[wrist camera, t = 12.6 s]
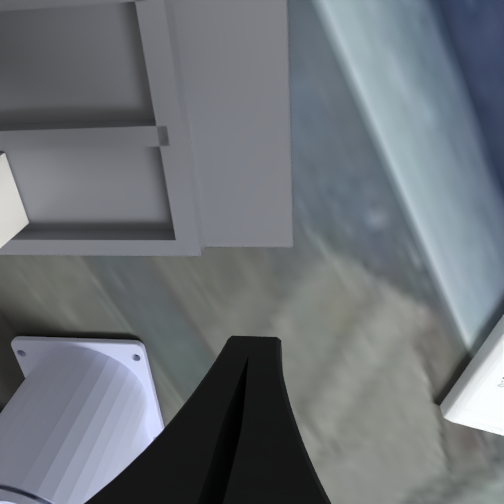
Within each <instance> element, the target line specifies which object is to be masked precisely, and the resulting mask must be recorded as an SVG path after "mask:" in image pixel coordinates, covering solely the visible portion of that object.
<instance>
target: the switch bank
mask: <svg viewBox="0 0 504 504" xmlns="http://www.w3.org/2000/svg"><path fill="white" fill-rule="evenodd" d="M0 153H5V155H6V158H7V161H8V164H9V167H10V169H11V172H12V175H13V178H14V181H15V184H16V187H17V190H18V193H19V195H20V198H21V201H22V204H23V207H24V210H25V213H26V216H27V219H28V221H29V224H27V225H26V226H25V227H24V228H23V229H22V230H21V231H19V232H18V233H17V234H16V235H15V236H14V237H13V238H11V239H10V240H9V241H8V242H7V243H6V244H5V245H3V246H2V247H1V248H0V255H110V256H201V254H202V252H203V249H204V247H293V240H294V222H293V181H292V141H291V100H290V59H289V19H288V0H0Z"/></svg>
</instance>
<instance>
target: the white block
mask: <svg viewBox="0 0 504 504" xmlns="http://www.w3.org/2000/svg"><path fill="white" fill-rule="evenodd" d="M27 224H29V221H28V219H27V216H26V213H25V210H24V207H23V204H22V201H21V198H20V195H19V193H18V190H17V187H16V184H15V181H14V178H13V175H12V172H11V169H10V167H9V164H8V161H7V158H6V155H5V153H0V248H1V247H2V246H3V245H5V244H6V243H7V242H8V241H9V240H10V239H11V238H13V237H14V236H15V235H16V234H17V233H18V232H19V231H21V230H22V229H23V228H24V227H25V226H26V225H27Z"/></svg>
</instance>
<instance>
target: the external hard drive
mask: <svg viewBox="0 0 504 504" xmlns="http://www.w3.org/2000/svg"><path fill="white" fill-rule="evenodd" d="M440 408H441V412H442V415H443V417H444V418H445V419H447V420H449V421H451V422H454V423H458V424H462V425H466V426H469V427H473V428H477V429H481V430H485V431H488V432H492V433H496V434H500V435H503V436H504V314H503V315H502V317H501V318H500V320H499V321H498V323H497V324H496V325H495V327H494V328H493V330H492V331H491V333H490V334H489V336H488V337H487V338H486V340H485V341H484V343H483V344H482V346H481V347H480V348H479V350H478V351H477V353H476V354H475V356H474V357H473V358H472V360H471V361H470V363H469V364H468V366H467V367H466V369H465V370H464V372H463V373H462V374H461V376H460V377H459V379H458V380H457V382H456V383H455V384H454V386H453V387H452V389H451V390H450V392H449V393H448V395H447V396H446V397H445V399H444V400H443V402H442V403H441V405H440Z"/></svg>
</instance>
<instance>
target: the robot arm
mask: <svg viewBox="0 0 504 504" xmlns="http://www.w3.org/2000/svg"><path fill="white" fill-rule="evenodd" d="M11 346H12V349H13V351H14V353H15V356H16V358H17V360H18V363H19V365H20V367H21V370H22V372H23V374H24V376H25V380H24V381H23V383H22V384H21V385H20V387H19V388H18V390H17V391H16V392H15V394H14V395H13V397H12V398H11V399H10V401H9V402H8V404H7V405H6V406H5V408H4V409H3V411H2V412H1V413H0V504H331V502H330V500H329V498H328V496H327V494H326V492H325V490H324V488H323V486H322V484H321V483H320V480H319V478H318V476H317V474H316V472H315V469H314V467H313V465H312V463H311V460H310V458H309V456H308V453H307V451H306V448H305V446H304V443H303V441H302V438H301V435H300V433H299V430H298V427H297V424H296V421H295V418H294V415H293V412H292V408H291V405H290V402H289V398H288V394H287V390H286V386H285V382H284V377H283V369H282V347H281V340H280V339H279V338H277V337H256V336H231V337H230V338H229V339H228V340H227V342H226V344H225V346H224V347H223V349H222V351H221V353H220V354H219V356H218V357H217V359H216V361H215V362H214V364H213V365H212V367H211V368H210V370H209V371H208V373H207V374H206V376H205V377H204V379H203V380H202V381H201V383H200V384H199V386H198V387H197V388H196V390H195V391H194V393H193V394H192V395H191V397H190V398H189V399H188V400H187V402H186V403H185V404H184V405H183V407H182V408H181V409H180V410H179V412H178V413H177V414H176V415H175V417H174V418H173V419H172V420H171V421H170V423H169V424H168V425H167V426H166V427H165V428H164V424H163V420H162V416H161V412H160V408H159V404H158V399H157V395H156V391H155V387H154V383H153V379H152V375H151V371H150V366H149V362H148V358H147V354H146V350H145V346H144V344H142V343H141V342H140V341H137V340H118V339H88V338H58V337H29V336H17V337H15V338H14V339H13V340H12V342H11ZM135 354H136V355H139V356H136V355H135Z"/></svg>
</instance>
